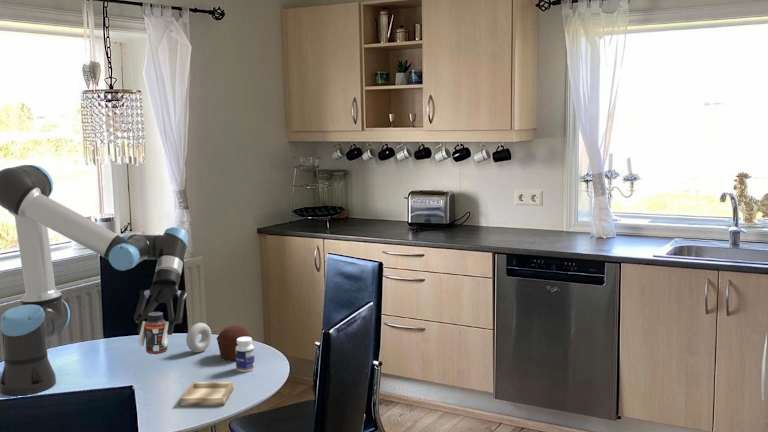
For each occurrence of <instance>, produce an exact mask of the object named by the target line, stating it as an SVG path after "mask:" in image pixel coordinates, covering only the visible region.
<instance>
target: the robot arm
mask: <svg viewBox="0 0 768 432" xmlns="http://www.w3.org/2000/svg"><path fill="white" fill-rule="evenodd" d="M53 189H54V181H53V178H52V177H51V175H50V173H49V172H48V171H47V170H45V169H44V168H42V167H41V166H38V165H35V164H24V165H18V166H13V167H7V168H3V169H1V170H0V207H1V208H3V209H5V210H7V211H8V213H10V215H12V216H13V217H14V220H15V221H14V222H15V228H16V233H17V234H16V235H17V242H18V249H19V255H20V264H21V270H22V276H23V284H24V285H23V286H24V291H25V292H24V294H23V295H22V297H21V298H20V302H21V303H20V304H21V305H18V306H16V307H12V308H9V309H8V310H5V312H3V313H2V315H1V317H0V332H1V341H2V342H1V343H2V353H3V361H4V362H3V368H2V372H1V375H0V376H1V377H0V393H1V394H3V395H7V396H24V395H23V394H27V395H31V394H32V395H33V394H36V393H41V392H44V391H46V390H49V389H51V388H52V387H53V386H55V385H56V383H57V377H56V373H55V371H54V369H53V367H52V365H51V362H50V360H49V357H48V346H47V345H48V344H47V343H48V341H50V340H51V339H52V338H53V337H55V336H57V335H59V334H60V333H62V331H63V330H64V329H65V328H66V326H67V325H68V323H69V322H70V317H71V311H70V308H69V305H68V304H67V302H65V301H64V299H63V295H62V292H61V291H60V290H58V289H57V288H56V284H55V282H56V281H55V275H54V266H53V261H52V260H53V259H52V253H51V246H50V238H49V231H48V230H49V229H50V230H52V231H54V232H55V233H58V234H59V235H61V236H64V237H65V238H67V239H69V240H71V241H73V242H74V243H76V244H79V245H80V246H82V247H84V248H86V249H88V250H90V251H92V252H93V253H96V254H97V255H99V256H101V257H103V258H105V259H106V260H108V261H109V263H110V265H111V266H112V268H114V269H115V270H118V271H127V270H130V269H132V268H134V267H135V266H137V265H138V264H139V263H141V262H143V261H144V260H157V263H156V267H155V273H154V274H153V275H154V276H153V280H152V284H151V286H150V288H149V289H146V290H144V289H140V290H139V300H138V303H137V306H136V309H135V312H134V315H133V320H134V321H135V324H138V328H137V333H138V340H137V343H138V344H139V347H144V345H145V342H146V335H145V323H146V321H148V319H149V318H148V314H149V313H151V312H155V309H156V307H158V305H159V304H162V303H164V304H166V307H167V308H166V309H167V310H166V311H167V317H168V318H167V319H168V321H166V323H165V328H164V333H163V337H162V344H163V346H164V347H167V348H168V341H169V336H171V335H173V333H174V327H175V325H177V324H178V325H180V324H182V322H183V316H184V307H185V301H186V299H187V297H188V294H187V291H186V290H185V289H183V290H179V285H180V281H181V275H182V272H183V265H184V261H185V258H186V257H185V256H186V252H187V249H188V243H189V242H188V241H189V234H188V233H187V231H186V230H184V229H183V228H180V227H176V226H173V227H169V228H166V229H164V233H163V234H137V233H131V234H124V235H122V236H121V235H119V234H118V233H115V232H114V231H112V230H110V229H108V228H107V227H104V226H102V225H100V224H99V223H97V222H95V221H93V220H91V219H89V218H88V217H86V216H84V215H82V214H80V213H78V212H76V211H74V210H72V209H71V208H69V207H67V206H65V205H63V204H61V203H59V202H58V201H56V200H54V199H52V198H50V196H51V195H52V192H53ZM150 296H151V297H150ZM149 297H150V300H149V302H148V304H147V299H149ZM175 297H178V298H177V304H176V305H177V306H176V312H175V311H174V307H173V305H174V304H173V300H174V299H175ZM146 304H147V305H146ZM145 307H146V308H145ZM174 312H175V313H174Z"/></svg>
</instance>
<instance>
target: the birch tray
mask: <svg viewBox="0 0 768 432" xmlns="http://www.w3.org/2000/svg"><path fill="white" fill-rule="evenodd" d="M233 391H234V382H231V381H228V382H227V381H225V382H220V381H218V382H217V381H216V382H213V381H211V382H209V381H208V382H205V381H203V382H202V381H201V382H197V381H196V382H191V383H190V385H189V386H188V387H187V389H185V391H184V393H183V394H182V395H181V397H179V398H180V400H179V401H180V407H203V406H204V407H209V406H210V407H214V406H215V407H224V406H225V405H226V403H227V401H228V400H229V398H230V396H231V394H232V393H233Z"/></svg>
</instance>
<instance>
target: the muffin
mask: <svg viewBox="0 0 768 432" xmlns="http://www.w3.org/2000/svg"><path fill="white" fill-rule="evenodd" d="M239 337H251V338H252V334H251V333H250V332H249V331H248V330H247V329H246V328H244V327H242V326H241V325H230V326H227V327H224V329H222V330H221V331H220V332H219V334H218V335H217V337H216V341H217V345H218V349H219V353H220V359H222V360H223V359H224V360H225V362H236V351H235V348H236V346H237V345H238V344H237V338H239ZM224 360H223V361H224Z"/></svg>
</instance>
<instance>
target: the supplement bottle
mask: <svg viewBox="0 0 768 432" xmlns="http://www.w3.org/2000/svg"><path fill="white" fill-rule="evenodd" d="M163 313H164V312H161V311H153V312H151V313H149V314H148V318H149V319H148V321H146V323H145V335H146V337H145V351H146V353H147V354H150V355H160V354H164V353H166V352H167V351H168V346H167V347H164V346H163V344H162V337H163V333H164V328H165V323H166V322H167V321H166V320H165V319H164V314H163Z"/></svg>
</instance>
